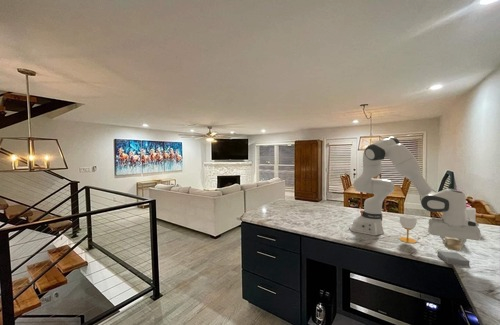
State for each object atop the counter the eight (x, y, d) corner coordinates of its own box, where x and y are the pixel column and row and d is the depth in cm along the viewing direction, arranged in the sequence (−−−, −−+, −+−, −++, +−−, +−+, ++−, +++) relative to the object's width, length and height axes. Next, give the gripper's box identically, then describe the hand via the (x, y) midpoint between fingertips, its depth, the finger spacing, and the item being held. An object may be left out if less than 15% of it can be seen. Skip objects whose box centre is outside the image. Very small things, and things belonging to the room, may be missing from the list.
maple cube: (448, 249, 110) (448, 240, 110) (444, 245, 115) (444, 236, 114) (461, 251, 108) (461, 241, 108) (456, 247, 113) (456, 238, 112)
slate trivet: (448, 264, 109) (448, 258, 109) (437, 256, 118) (437, 250, 117) (469, 266, 107) (469, 260, 106) (456, 257, 115) (457, 252, 115)
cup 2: (462, 230, 150) (463, 209, 150) (456, 226, 158) (457, 206, 157) (477, 232, 148) (478, 210, 147) (470, 228, 155) (471, 206, 154)
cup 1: (399, 241, 136) (399, 217, 135) (398, 236, 144) (399, 213, 143) (417, 244, 131) (417, 219, 130) (415, 239, 139) (416, 215, 138)
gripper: (430, 219, 112) (430, 244, 113) (483, 224, 103) (482, 251, 104) (426, 215, 118) (426, 239, 118) (476, 220, 109) (475, 246, 110)
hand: (452, 245), depth 111 cm, fingers closed on maple cube, 5 cm apart
